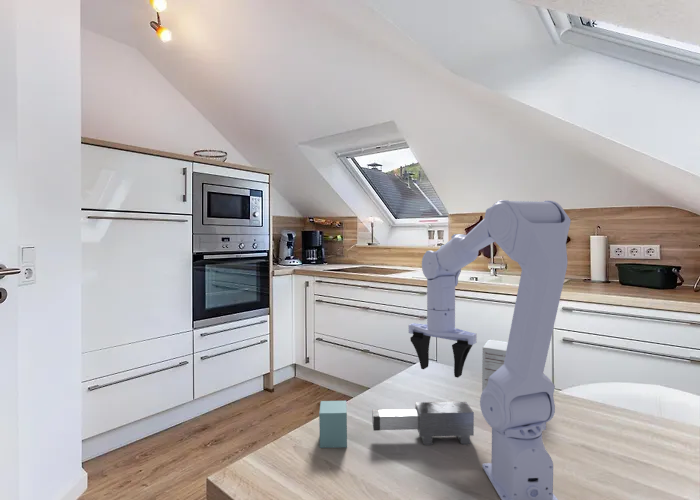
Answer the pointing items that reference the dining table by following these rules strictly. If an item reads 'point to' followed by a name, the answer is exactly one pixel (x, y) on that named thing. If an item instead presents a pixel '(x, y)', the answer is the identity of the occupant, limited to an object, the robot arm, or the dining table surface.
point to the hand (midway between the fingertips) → (440, 371)
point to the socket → (333, 424)
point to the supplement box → (492, 358)
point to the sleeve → (445, 420)
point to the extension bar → (395, 419)
